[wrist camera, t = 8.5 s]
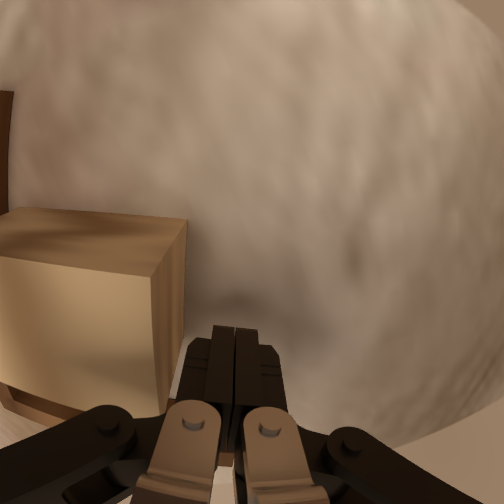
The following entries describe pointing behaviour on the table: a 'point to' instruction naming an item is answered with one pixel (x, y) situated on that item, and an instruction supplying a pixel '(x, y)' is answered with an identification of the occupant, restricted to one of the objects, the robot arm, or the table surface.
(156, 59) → the table surface
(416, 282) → the table surface
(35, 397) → the corner fence
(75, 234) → the oak block
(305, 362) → the table surface
